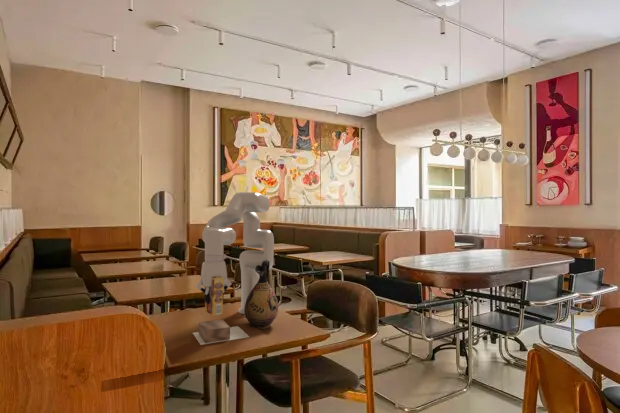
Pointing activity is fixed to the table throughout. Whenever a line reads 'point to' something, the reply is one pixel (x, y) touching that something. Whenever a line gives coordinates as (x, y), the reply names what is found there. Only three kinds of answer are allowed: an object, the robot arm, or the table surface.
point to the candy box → (215, 297)
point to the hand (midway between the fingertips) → (214, 302)
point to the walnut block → (214, 330)
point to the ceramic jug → (261, 300)
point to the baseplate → (234, 334)
